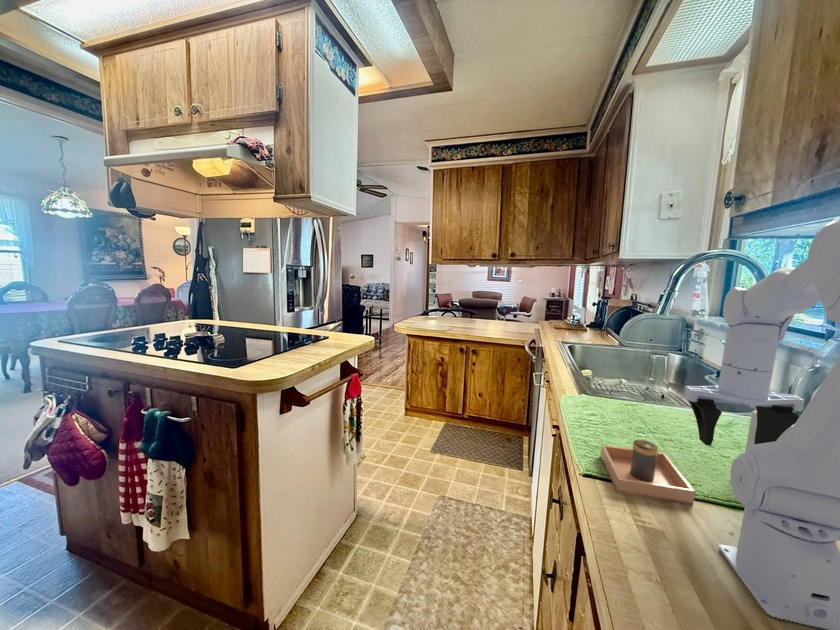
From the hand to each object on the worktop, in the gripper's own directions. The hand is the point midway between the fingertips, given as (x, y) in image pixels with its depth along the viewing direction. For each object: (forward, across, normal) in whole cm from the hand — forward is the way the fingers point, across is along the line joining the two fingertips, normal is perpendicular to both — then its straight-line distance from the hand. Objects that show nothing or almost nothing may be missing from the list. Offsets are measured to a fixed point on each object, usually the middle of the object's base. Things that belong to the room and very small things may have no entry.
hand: (732, 445), depth 54 cm
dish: (+9, +12, -2) cm, 15 cm away
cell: (+9, +12, -2) cm, 15 cm away
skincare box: (+10, -10, -7) cm, 16 cm away
